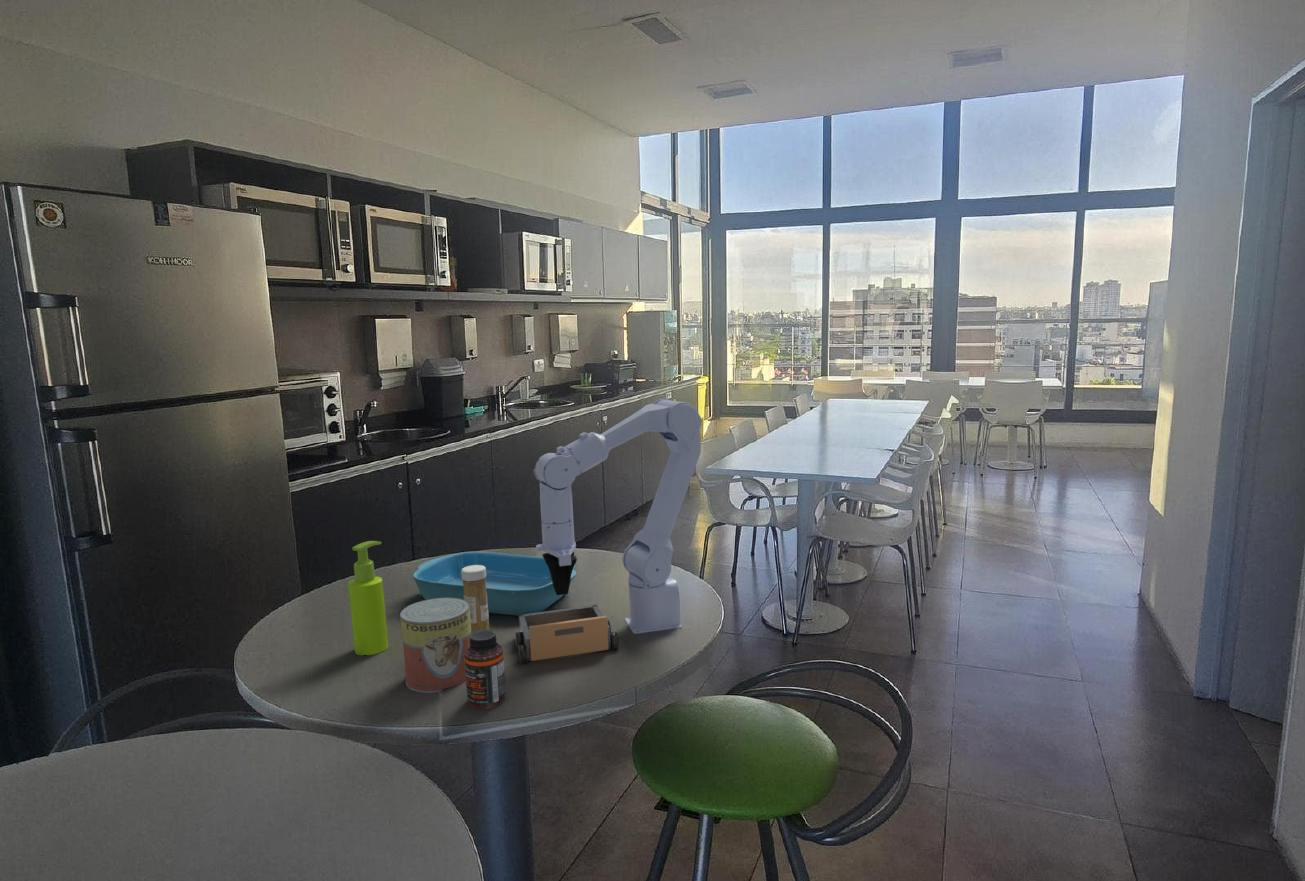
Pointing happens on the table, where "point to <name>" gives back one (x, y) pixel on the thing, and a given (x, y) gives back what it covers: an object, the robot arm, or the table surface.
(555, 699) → the table surface
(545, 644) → the panel
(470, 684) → the supplement bottle
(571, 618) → the trailer
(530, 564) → the casserole dish
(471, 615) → the sprinkles bottle
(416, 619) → the canned food
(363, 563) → the soap dispenser
